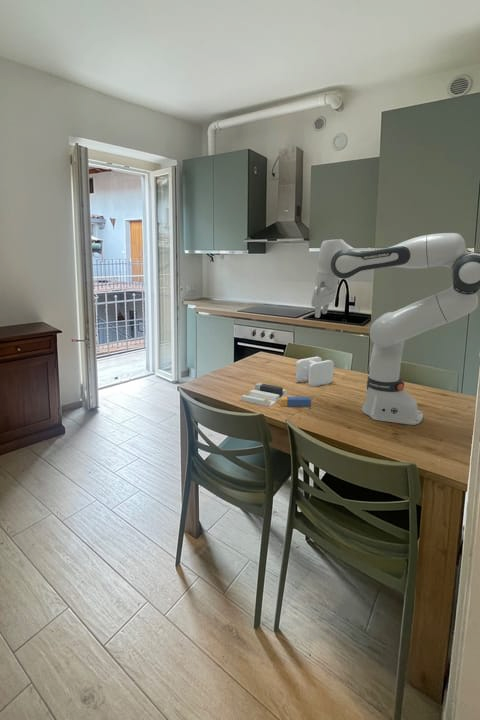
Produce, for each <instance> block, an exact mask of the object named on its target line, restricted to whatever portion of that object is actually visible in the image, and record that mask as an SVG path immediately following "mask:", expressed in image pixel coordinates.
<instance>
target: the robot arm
mask: <svg viewBox="0 0 480 720" xmlns="http://www.w3.org/2000/svg"><path fill="white" fill-rule="evenodd" d="M318 252H319V253H318V257H317V269H316V273H315V277H314V278H315V279H314V285H315V288H314V290H313V294H312V299H311V305H310V306H311V307H313V308H314V318H318V319H319V318H320V317H321V315H322V314H323V315H326V314H327V313H328V309H329V307H330V303H332V302H334V300H335V296H336V294H337V288H338V285H339V284H340V279H345V280H346V279H349V278H351V277H354V276H357V275H360V274H361V273H363V272H364V271H368V270H376V269H377V270H378V269H382V268H401V269H419V270H421V269H431V268H435V267H437V268H438V267H446V268H448V269H450V270H451V275H452V276H451V277H452V285H451V286H450V287H448V288H447V289H445V290H442V291H440V292H437V293H434V294H432V295H429V296H427V297H424V298H422V299H420V300H418V301H415V302H412V303H410V304H408V305H407V306H404V307H402V308H399V309H397V310H395V311H389V312H385V313H383V314H382V315H380V316H379V317H378V318H377V319H375V320H374V321H373V323H372V324H371V326H370V328H369V337H370V340H371V342H372V343H373V346H372V349H371V355H370V361H369V371H368V372H369V373H368V376H367V379H366V395H365V399H364V403H363V406H362V408H361V411H362V412H363V413H364V414H365V415H367V416H369V417H370V418H371V419H372V420H374V421H380V422H388V423H395V424H403V425H410V426H415V425H418V424H421V422H422V421H423V419H424V414H423V412H422V411H421V410H419V409H418V402H417V400H416V398H414V397H413V396H412V395H411V394H410V393H408V392H407V391H406V390H405V380H402V379H401V378H400V374H401V364H402V357H403V352H404V346H405V341H406V340H409V339H411V338H413V337H414V338H415V337H416V336H418V335H421V334H422V333H425V332H427V331H430V330H432V329H436V328H438V327H441V326H443V325H447V324H449V323H452V322H454V321H456V320H459V319H460V318H461V319H462V318H463V317H465V316H467V315H468V314H470V313H472V312H474V311H475V310H476V309H477V308H478V306H479V297H478V292H479V290H480V253H477V252H475V251H474V252H473V251H471V250H468V249H467V248H466V241H465V239H464V237H463V236H462V235H461V234H460V233H457V232H441V233H431V234H425V235H420V236H417V237H413V238H410V239H407V240H404V241H402V242H400V243H397V244H395V245H392V246H390V247H385V248H381V249H374V250H369V251H361V250H359V249H357V248H354V247H352V246H351V245H349V244H348V243H346V242H345V240H344V239H343V238H338V237H337V238H333V237H332V238H326V239H324V240H323V241H322V243H321V245H320V248H319V251H318Z"/></svg>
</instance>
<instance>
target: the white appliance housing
mask: <svg viewBox="0 0 480 720" xmlns="http://www.w3.org/2000/svg"><path fill="white" fill-rule="evenodd" d="M286 395H287V390H286V389H283V395H282V397H286ZM279 396H280V395H278V394H273V393H268V392H263V391H258V390H255V389H251V390H249V394H248V395H246V394H243V395H241V402H248V403H252V404H256V405H260V406H265V407H271V406H272V405H273V404H275V403H276V402H278V401H280V400H281V397H280V398H279Z"/></svg>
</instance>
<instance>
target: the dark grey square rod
mask: <svg viewBox="0 0 480 720" xmlns="http://www.w3.org/2000/svg"><path fill="white" fill-rule="evenodd" d="M254 390H258V391H263V392H268V393H273V394H278V395H280V396H279V398H280V397H282V395H283V390H284V389H283V387H282V386H277V385H273V384H267V383H261V382H257V383H256V384H254Z"/></svg>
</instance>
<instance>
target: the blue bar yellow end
mask: <svg viewBox="0 0 480 720" xmlns="http://www.w3.org/2000/svg"><path fill="white" fill-rule="evenodd" d="M311 404H312V399H311V396H283V397H281V399H280V406H281V407H305V408H306V407H307V408H308V410H311V406H312V405H311Z"/></svg>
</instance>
